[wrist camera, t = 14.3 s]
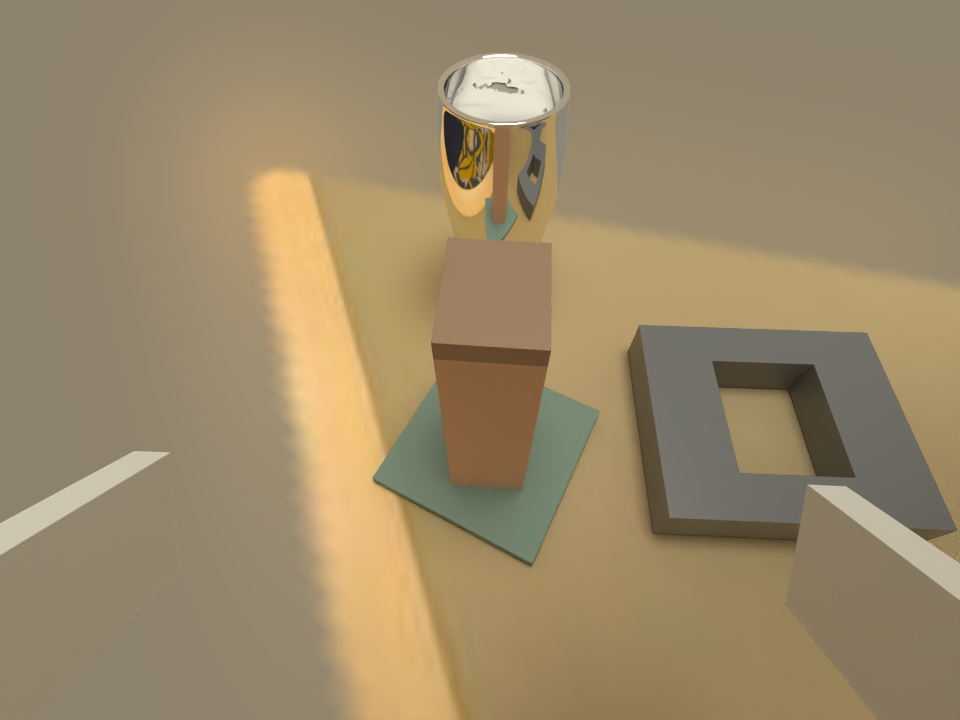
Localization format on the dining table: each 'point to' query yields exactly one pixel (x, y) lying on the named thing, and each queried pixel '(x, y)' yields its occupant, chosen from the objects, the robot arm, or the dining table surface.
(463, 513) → the mat
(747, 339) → the socket block
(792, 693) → the dining table surface
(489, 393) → the brown tall block
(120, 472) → the robot arm
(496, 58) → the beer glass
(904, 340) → the dining table surface
